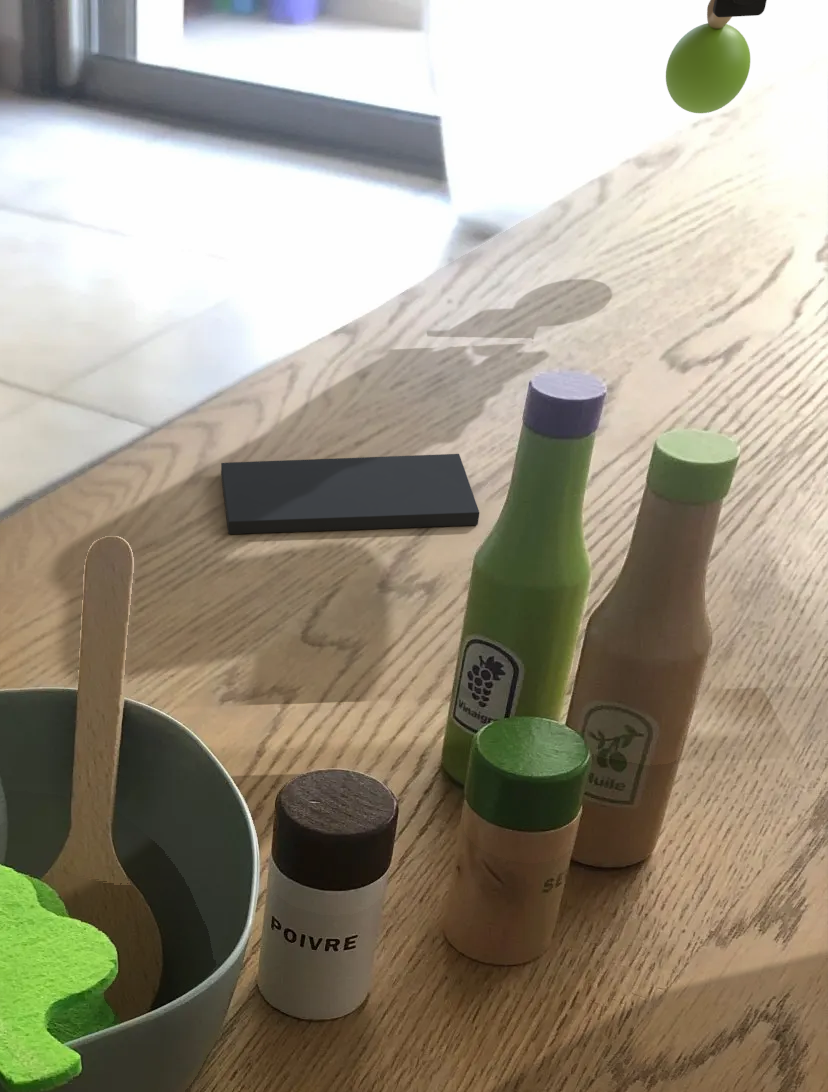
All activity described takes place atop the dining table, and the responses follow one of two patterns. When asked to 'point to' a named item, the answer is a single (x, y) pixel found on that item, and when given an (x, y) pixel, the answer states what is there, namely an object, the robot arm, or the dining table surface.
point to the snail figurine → (708, 65)
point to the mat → (347, 494)
